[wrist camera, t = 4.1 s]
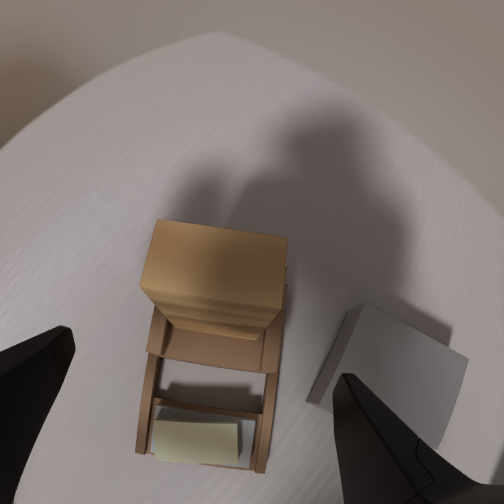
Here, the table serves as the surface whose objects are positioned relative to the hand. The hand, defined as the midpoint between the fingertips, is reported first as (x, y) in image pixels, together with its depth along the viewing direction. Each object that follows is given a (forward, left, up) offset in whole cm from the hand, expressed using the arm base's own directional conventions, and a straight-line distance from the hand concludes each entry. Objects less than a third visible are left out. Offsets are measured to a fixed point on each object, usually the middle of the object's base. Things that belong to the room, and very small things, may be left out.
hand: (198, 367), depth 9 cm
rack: (+1, -1, -11) cm, 11 cm away
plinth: (-8, -9, -11) cm, 16 cm away
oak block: (+3, -2, -8) cm, 8 cm away
